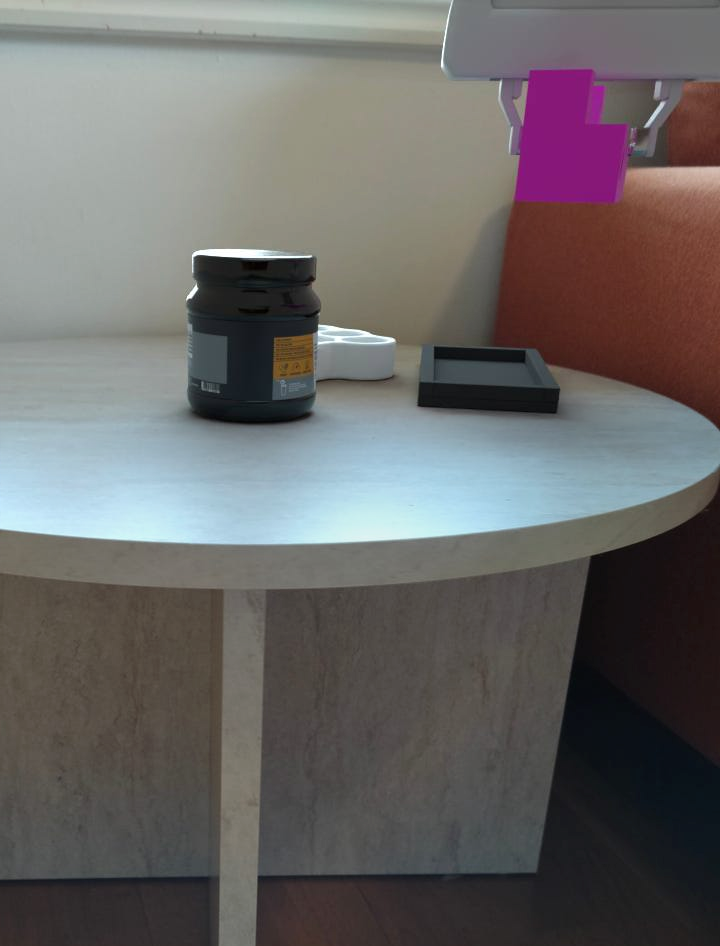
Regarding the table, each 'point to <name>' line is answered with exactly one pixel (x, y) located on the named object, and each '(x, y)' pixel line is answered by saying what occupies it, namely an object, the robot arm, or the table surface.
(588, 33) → the robot arm
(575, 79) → the toy block
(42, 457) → the table surface
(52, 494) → the table surface
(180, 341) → the table surface
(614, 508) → the table surface
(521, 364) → the socket pad
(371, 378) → the white well tray
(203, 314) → the supplement container
